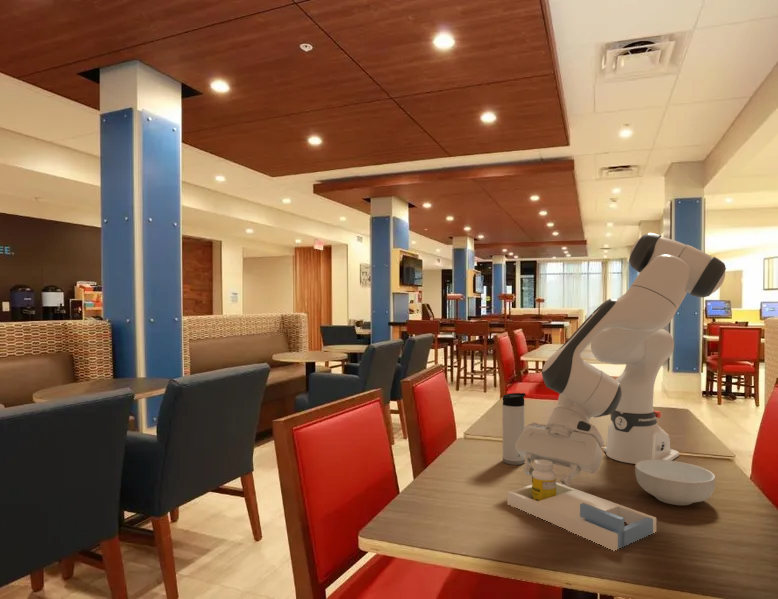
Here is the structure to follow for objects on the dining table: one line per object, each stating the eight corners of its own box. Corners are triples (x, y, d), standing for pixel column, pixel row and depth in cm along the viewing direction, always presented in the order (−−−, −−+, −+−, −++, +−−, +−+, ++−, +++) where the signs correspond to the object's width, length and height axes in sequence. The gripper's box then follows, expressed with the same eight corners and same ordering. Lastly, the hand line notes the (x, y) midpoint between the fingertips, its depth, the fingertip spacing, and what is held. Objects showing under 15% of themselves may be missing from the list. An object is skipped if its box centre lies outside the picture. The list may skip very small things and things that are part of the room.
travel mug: (526, 465, 149) (526, 395, 149) (502, 464, 150) (502, 394, 150) (525, 459, 155) (525, 391, 155) (502, 457, 157) (502, 390, 157)
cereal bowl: (715, 519, 113) (715, 486, 113) (630, 504, 121) (630, 473, 121) (715, 494, 127) (715, 465, 127) (639, 482, 136) (639, 454, 136)
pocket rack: (549, 491, 129) (549, 469, 129) (656, 532, 106) (656, 505, 106) (507, 504, 121) (507, 480, 121) (614, 551, 98) (613, 522, 98)
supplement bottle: (528, 500, 124) (528, 458, 124) (550, 499, 124) (550, 458, 124) (536, 509, 118) (536, 466, 118) (560, 508, 119) (560, 465, 119)
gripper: (523, 414, 134) (501, 460, 127) (602, 428, 119) (582, 481, 112) (532, 428, 137) (512, 475, 130) (611, 444, 122) (592, 497, 115)
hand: (545, 478), depth 121 cm, fingers open, 8 cm apart
